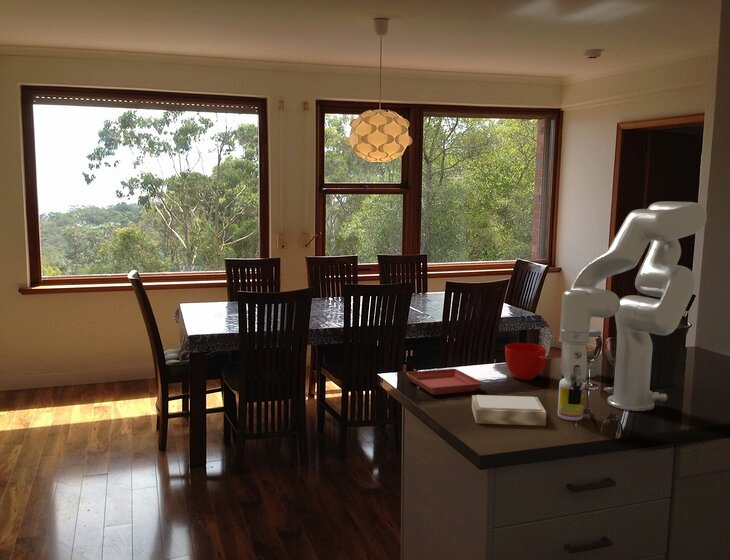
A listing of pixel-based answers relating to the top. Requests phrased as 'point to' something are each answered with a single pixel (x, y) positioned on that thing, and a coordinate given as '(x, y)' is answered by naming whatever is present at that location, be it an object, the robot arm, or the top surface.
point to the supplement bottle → (566, 409)
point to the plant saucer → (444, 381)
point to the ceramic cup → (525, 359)
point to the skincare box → (594, 364)
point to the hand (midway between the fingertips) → (569, 398)
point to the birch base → (508, 410)
